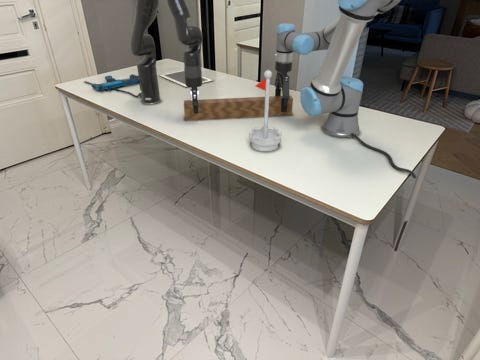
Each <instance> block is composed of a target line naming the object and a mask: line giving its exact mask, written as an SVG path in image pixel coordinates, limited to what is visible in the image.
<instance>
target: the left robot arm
mask: <svg viewBox="0 0 480 360" xmlns="http://www.w3.org/2000/svg"><path fill="white" fill-rule="evenodd" d="M159 4H160V2H159V0H136V2H135V10H134V11H135V12H134V17H133V18H134V19H133V26H132V29H131V33H130V38H129V49H130V52H131V54H132V55H133V56H135V57H142V56H143V58H142V59H141V60H140V61H138V62H137V63H136V69H137V74H138V75H137V76H139V81H140V82H138V86H139V91H140V92H138V94H137V95H135V94H134V93H132V92H129V91H126V90H122V89H118V88H111V89H110V90H113V91H116V92H121V93H125V94H129V95H131V96H133V98H140V99H141V102H142V104H144V105H156V104H159V103H160V102H162V101H161V94H160V93H161V92H160V86H159V79H158V72H157V54H156V44H155V41H154V38H153V36H152V35H151V34H149V33H146V31H147V30H148V28H149V27H150V26H151V25H152V23H153V22H154V20H155V19H156V18H157V16H158V15H157V14H158V9H159ZM167 4H168V7H169V10H170V13H171V15H172V17H173V20H174V26H175V31H176V36H177V40H178V41H179V42H180V43H181V44H182V45H183V46H188V48H187V49H185V51H183V68H184V69H183V70H184V72H185V83H186V86H187V87H186V88H190V89H189V94H190V100H192V102H193V104H192V105H193V110H194V114H198V100H200V98H199V97H200V95H199V94H200V92H199V91H200V90H199V88H200V87H202V86H203V83H202V76H203V74H202V73H203V71H202V65H201V52H202V51H201V50H202V46H203V45H202V44H203V32H202V29H201V28H200V27H199V26H198V25H195V24H193V25H188V21H189V20H190V19H191V15H192V14H191V12H190V9H189V7H188V4H187V1H186V0H167ZM84 83H85V84H89V85H91V84H93V83H91V82H89V81H87V80H84ZM194 102H197V103H194Z"/></svg>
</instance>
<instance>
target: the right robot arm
mask: <svg viewBox="0 0 480 360" xmlns="http://www.w3.org/2000/svg"><path fill="white" fill-rule="evenodd" d="M336 1H337V4H338V11H339V13H340V15H339V16H338V17H336V18H335V19H334V20H333V21H332V22H330V23H329V24H328V25H326V26H325V27H324V28H323V29H322V30H319V31H317V30H316V31H309V32H297V31H296V25H295V24H293V23H280V24H278V25H277V33H276V46H275V47H276V49H275V50H276V52H275V54H274V57H275V63H274V64H275V65H274V70H275V71H276V74H275V80H274V87H275V91H274V92H275V93H274V96H282V98H281V99H282V102H281V112H287V104H288V99H289V98H290V97H289V96H290V76H289V75H288V73H290V72H291V71H292V69H293V59H294V53H296V54H298V55H301V56H307V55H309V54H310V53H311V52H317V51H326V53H325V56H324V58H323V61H322V64H321V67H320V69H319V72H318V74H317V75H315V76H313V77H312V79H311V82H310V84H309V86H304V87H303V88H302V90H301V91H300V95H299V96H300V99H299V100H300V104H301V107H302V110H303V111H304V112H305V113H306V114H307V115H308V116H310V117H316V116H321V115H325V114H328V115H327V117H326V120H325V121H324V123H323V126H322V130H323V132H324V133H325V134H326V135H329V136H332V137H335V138H339V139H341V138H342V139H349V138H354V139H356V140H357V141H358V142H359V143H360V144H362V146H364V147H365V148H367V149H370V150H373V151H376V152H379V153H381V154H383V155H385V156H386V157H387V158H388V161H389V163H390V165H391V166H392V167H393V168H394V169H395V170H397V171H400V172H405V173H408V174H409V175H411V176H412V178H413V179H415V180H416V179H417V175H416V174H415V173H414V172H413V171H412V170H411V169H408V168H403V167H400V166H397V165H396V164H395V162H394V160H393V158H392V156H391V155H390V154H389V153H388V152H386V151H385V150H383V149H380V148H377V147H374V146H373V145H369V144H368V143H366V142H365V141H363V140H362V139H361V138H360V137H359V136H357V135H359V132H360V125H359V118H358V117H359V116H358V114H359V111H360V110H359V109H360V105H361V101H362V96H363V92H364V91H363V89H364V82H363V81H362V80H361V79H359V78H356V77H353V76H346V75H344V74H345V71H346V69H347V67H348V65H349V62H350V60H351V58H352V56H353V54H354V51H355V49H356V46H357V44H358V42H359V39H360V38H361V35H362V33H363V31H364V29H365V26H366V24H367V23H369V22H372V21H373V20H374V18H375V16H377V15H378V14H385V13H386V12H388V11H390V10H391V9H393V8H394V7H396V6H397V5H398V4H400V2H401V1H402V0H336ZM407 224H408V220H405V221H404V222H403V224H402V226H401V230H400V232H399V234H398V237H397V239H396V240H397V241H396V242H395V243H396V244H395V246H394V250H393V251H394V252H398V249H399V245H400V243H401V240H402V237H403V234H404V232H405V230H406V226H407Z"/></svg>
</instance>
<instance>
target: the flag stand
mask: <svg viewBox="0 0 480 360" xmlns="http://www.w3.org/2000/svg"><path fill="white" fill-rule="evenodd" d="M263 77H264V79H263V80H262V81H260V82H259V83H257V84H255V85H254V87H256V88H258V89H260V90H264V97H265V111H264V118H263V125H262V126H261V128H259V127H253V128H251V131H249V133H248V139H249V141H250V142H251V147H252V148H253V150H257V151H259V152H260V151H261V152H272V151H275V150H277V149H278V148H279V145H280V144H279V143H280V142H281V141H282V137H283V133H282V131H279V128H277V127H272V129H271V128H269V116H268V110H269V96H270V88H271V87H270V85H271V78H272V77H273V72H272V71H271V70H270V69H267V70H265V71H264V73H263Z"/></svg>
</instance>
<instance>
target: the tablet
mask: <svg viewBox="0 0 480 360" xmlns="http://www.w3.org/2000/svg"><path fill="white" fill-rule="evenodd" d="M158 76H159V77H161V78H163V79H165V80H167V81H170V82H173V83H175V84H177V85H179V86H182V87H184V88H188V87H187V86H186V83H185V72H184V69H182V70H181V69H180V70H176V71H172V72H167V73H163V74H158ZM210 82H214V80H213V79H211V78H208V77H206V76H203V75H202V84H205V83H206V84H207V83H210Z"/></svg>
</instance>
